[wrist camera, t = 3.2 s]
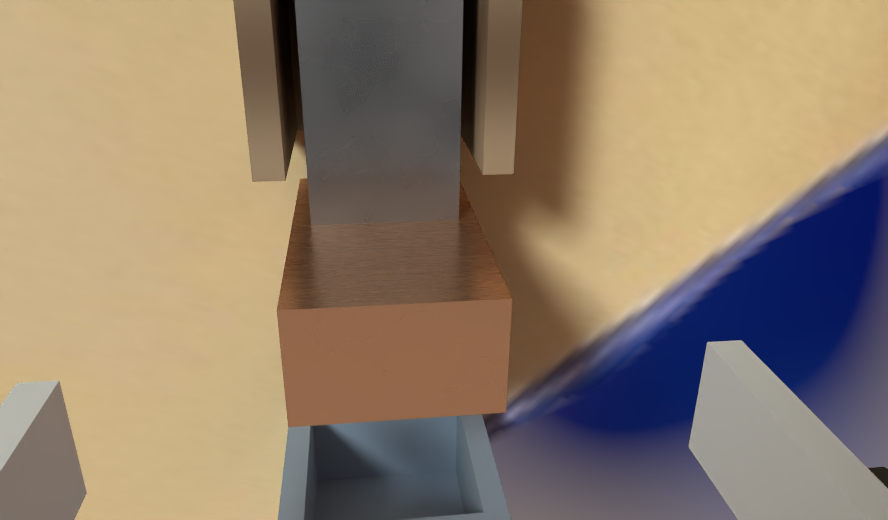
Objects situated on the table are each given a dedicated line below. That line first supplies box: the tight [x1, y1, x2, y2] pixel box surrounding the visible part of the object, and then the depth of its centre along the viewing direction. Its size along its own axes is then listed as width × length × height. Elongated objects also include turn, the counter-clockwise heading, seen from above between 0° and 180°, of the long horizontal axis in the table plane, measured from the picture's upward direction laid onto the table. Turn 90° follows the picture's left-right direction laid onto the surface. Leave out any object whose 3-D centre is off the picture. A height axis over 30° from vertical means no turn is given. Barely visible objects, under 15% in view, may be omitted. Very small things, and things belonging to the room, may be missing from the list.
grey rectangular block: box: [278, 414, 511, 520], centre depth 26 cm, size 5×7×7 cm
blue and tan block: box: [277, 0, 512, 427], centre depth 19 cm, size 14×5×9 cm, turn 179°
